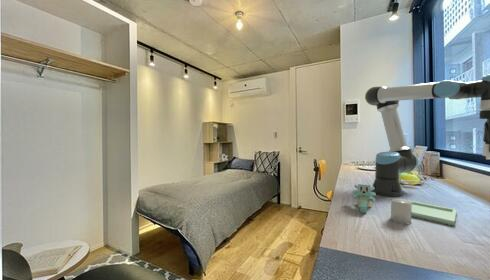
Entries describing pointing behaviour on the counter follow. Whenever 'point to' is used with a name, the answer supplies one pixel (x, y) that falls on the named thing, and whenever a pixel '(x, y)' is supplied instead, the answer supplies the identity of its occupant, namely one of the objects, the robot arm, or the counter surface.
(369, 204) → the toy
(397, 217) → the cream rounded capsule
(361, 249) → the counter surface
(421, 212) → the tray
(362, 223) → the counter surface
